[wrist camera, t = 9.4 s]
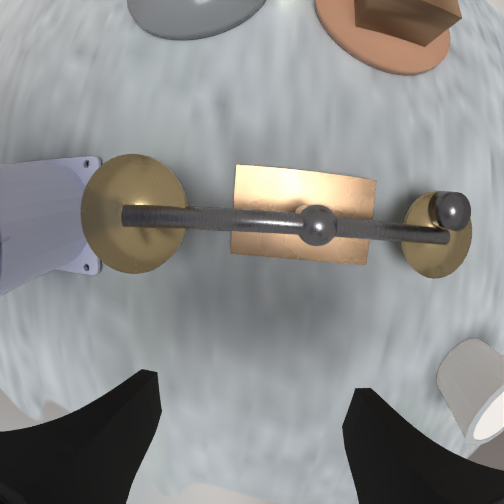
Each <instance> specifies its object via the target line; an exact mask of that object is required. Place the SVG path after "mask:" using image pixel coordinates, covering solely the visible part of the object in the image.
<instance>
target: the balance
mask: <svg viewBox="0 0 504 504" xmlns="http://www.w3.org/2000/svg"><path fill="white" fill-rule="evenodd" d="M375 190H376V180H370V179H364V178H357V177H350V176H343V175H336V174H328V173H320V172H312V171H303V170H293V169H283V168H272V167H260V166H247V165H237V166H236V179H235V192H234V206H233V209H231V208H212V207H190V206H188V203H187V198H186V195H185V192H184V189H183V187H182V185H181V183H180V181H179V179H178V178H177V177H176V175H175V174H174V173H173V172H172V171H171V170H170V169H169V168H168V167H167V166H166V165H165V164H163V163H162V162H160V161H158V160H156V159H154V158H151V157H148V156H143V155H138V154H127V155H121V156H117V157H115V158H113V159H110V160H109V161H107V162H105V163H104V164H103V165H102V166H100V167H99V168H98V169H97V170H96V171H95V172H94V174H93V175H92V176H91V178H90V180H89V181H88V183H87V185H86V187H85V190H84V193H83V196H82V201H81V210H80V215H81V225H82V229H83V233H84V236H85V238H86V241H87V243H88V245H89V246H90V248H91V250H92V251H93V252H94V254H95V255H96V256H97V257H98V258H99V259H100V260H101V261H102V262H103V263H105V264H106V265H108V266H109V267H111V268H113V269H115V270H117V271H120V272H124V273H130V274H138V273H144V272H148V271H151V270H153V269H155V268H157V267H159V266H161V265H162V264H163V263H164V262H166V261H167V260H168V259H169V258H171V256H172V255H173V254H174V253H175V252H176V251H177V249H178V248H179V246H180V245H181V243H182V241H183V238H184V236H185V233H186V229H195V230H218V231H232V235H231V250H230V253H232V254H243V255H255V256H266V257H278V258H289V259H301V260H313V261H324V262H336V263H348V264H360V265H366V260H367V254H368V248H369V241H370V239H372V240H386V241H399V242H401V245H402V250H403V253H404V256H405V258H406V260H407V262H408V263H409V265H410V266H411V267H412V268H413V269H414V270H415V271H417V272H418V273H420V274H421V275H423V276H425V277H428V278H442V277H445V276H447V275H449V274H451V273H452V272H454V271H455V270H456V269H457V268H458V267H459V266H460V265H461V264H462V262H463V261H464V259H465V257H466V256H467V253H468V251H469V248H470V244H471V239H472V224H471V219H470V216H471V207H470V203H469V201H468V199H467V198H466V196H465V195H463V194H462V193H458V192H447V191H431V192H428V193H425V194H423V195H421V196H420V197H419V198H417V199H416V200H415V201H414V202H413V203H412V205H411V206H410V207H409V209H408V211H407V213H406V215H405V217H404V220H403V223H395V222H386V221H377V220H372V218H373V209H374V200H375Z"/></svg>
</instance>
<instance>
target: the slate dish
mask: <svg viewBox="0 0 504 504" xmlns="http://www.w3.org/2000/svg"><path fill="white" fill-rule="evenodd" d="M265 1H266V0H127V4H128V9H129V12H130V14H131V16H132V17H133V19H134V20H135V21H136V22H137V23H138V24H139V25H140V26H141V28H142V29H144V30H145V31H147V32H148V33H150V34H152V35H154V36H157V37H160V38H165V39H171V40H192V39H200V38H205V37H209V36H213V35H216V34H219V33H222V32H225V31H227V30H230V29H232V28H234V27H236V26H238V25H239V24H241V23H243V22H245V21H246V20H247V19H249V18H250V17H251V16H253V15H254V14H255V13H256V12H257V11H258V10H259V9H260V8H261V6H262V5H263V4H264V2H265Z"/></svg>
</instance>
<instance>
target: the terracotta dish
mask: <svg viewBox="0 0 504 504" xmlns="http://www.w3.org/2000/svg"><path fill="white" fill-rule="evenodd" d="M314 3H315V9H316V13H317V16H318V18H319V20H320V22H321V24H322V25H323V27H324V29H325V30H326V31H327V33H328V34H329V35H330V36H331V37H332V39H333V40H334V41H335V42H336V43H337V44H338V45H340V46H341V47H342V48H343V49H344V50H345V51H347V52H348V53H349V54H351V55H352V56H354V57H355V58H357V59H358V60H360V61H362V62H364V63H366V64H368V65H369V66H372V67H374V68H376V69H379V70H382V71H385V72H388V73H393V74H398V75H416V74H421V73H424V72H427V71H428V70H430V69H432V68H433V67H435V66H436V65H438V64H439V63H440V62H442V61H443V60H444V58H445V57H446V55H447V53H448V51H449V46H450V32H449V28H448V29H447V30H446V31H445V32H443V33H442V34H441V35H439V36H438V37H437V38H436V39H434V40H433V41H432V42H431V43H429V44H428V45H427V46H426V47H423V46H420V45H417V44H415V43H412V42H409V41H406V40H403V39H399V38H396V37H393V36H390V35H386V34H383V33H379V32H375V31H371V30H367V29H363V28H359V27H355V8H354V0H314Z"/></svg>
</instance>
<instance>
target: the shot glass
mask: <svg viewBox="0 0 504 504" xmlns="http://www.w3.org/2000/svg"><path fill="white" fill-rule="evenodd" d="M436 384H437V386H438V387H439V389H440V391H441V393H442V395H443V397H444V398H445V400H446V402H447V404H448V406H449V408H450V410H451V411H452V413H453V415H454V417H455V419H456V421H457V423H458V425H459V427H460V429H461V431H462V433H463V435H464V437H465V439H466V441H467V443H468V445H472V446H478V445H481V444H483V443H486V442H488V441H490V440H491V439H493V438H494V437H496V436H497V435H499V434H500V433H501V432H502V431H504V355H502V354H501V353H499V352H498V351H496V350H495V349H493V348H492V347H490V346H489V345H487V344H486V343H484V342H482V341H481V340H479V339H478V338H473V339H467V340H465V341H463V342H461V343H459V344H458V345H457V346H456V347H455V348H454V349H453V350H451V351H450V352H449V353H448V355H447V356H446V358H445V359H444V360H443V362H442V363H441V365H440V368H439V370H438V373H437V382H436Z"/></svg>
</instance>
